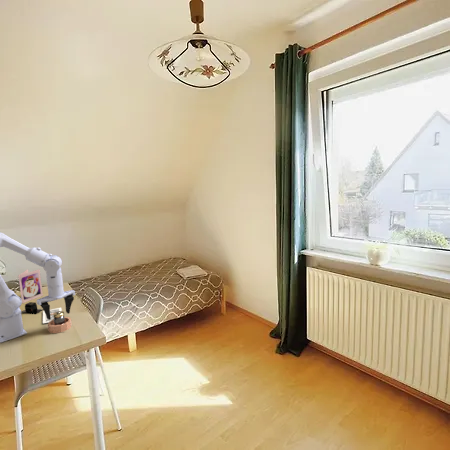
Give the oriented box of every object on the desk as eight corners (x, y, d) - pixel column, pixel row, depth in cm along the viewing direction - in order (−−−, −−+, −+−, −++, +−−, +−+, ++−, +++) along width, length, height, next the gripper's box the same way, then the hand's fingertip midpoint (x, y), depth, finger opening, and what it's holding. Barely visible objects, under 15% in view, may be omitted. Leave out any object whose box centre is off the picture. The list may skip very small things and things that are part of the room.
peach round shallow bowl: (53, 335, 129) (52, 328, 128) (45, 328, 135) (44, 322, 134) (74, 327, 135) (74, 320, 135) (66, 321, 141) (66, 315, 140)
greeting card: (23, 303, 163) (19, 275, 160) (14, 301, 166) (10, 274, 163) (43, 295, 173) (40, 269, 171) (34, 294, 176) (31, 268, 174)
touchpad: (43, 325, 138) (42, 321, 138) (43, 313, 151) (42, 309, 151) (63, 321, 142) (62, 316, 142) (61, 309, 155) (61, 305, 155)
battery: (56, 329, 132) (54, 314, 131) (53, 326, 135) (51, 311, 134) (66, 326, 134) (65, 311, 133) (63, 323, 137) (62, 309, 136)
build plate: (14, 314, 151) (13, 305, 150) (26, 308, 158) (25, 299, 157) (37, 316, 148) (36, 307, 148) (48, 309, 155) (47, 301, 155)
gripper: (39, 292, 124) (43, 324, 126) (77, 282, 134) (79, 312, 137) (33, 288, 129) (37, 319, 131) (70, 279, 139) (73, 308, 141)
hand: (58, 315), depth 134 cm, fingers open, 7 cm apart
